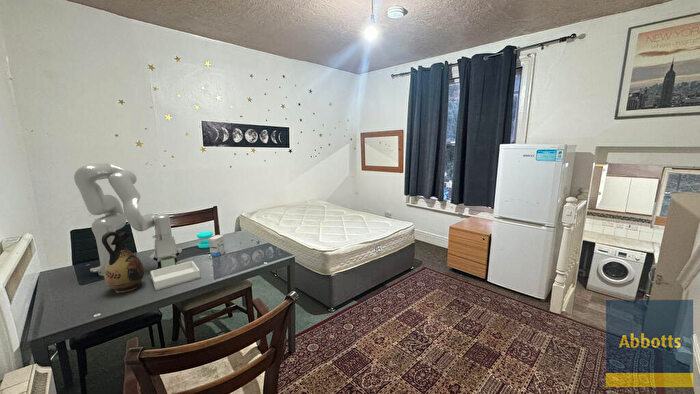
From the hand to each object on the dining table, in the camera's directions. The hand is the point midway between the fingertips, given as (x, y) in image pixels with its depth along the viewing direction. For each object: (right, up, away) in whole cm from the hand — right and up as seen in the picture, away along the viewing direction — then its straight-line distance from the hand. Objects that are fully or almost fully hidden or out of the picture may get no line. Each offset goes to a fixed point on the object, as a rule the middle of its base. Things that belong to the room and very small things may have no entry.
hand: (167, 265), depth 161 cm
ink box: (+19, +2, +21) cm, 28 cm away
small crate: (0, -1, 0) cm, 1 cm away
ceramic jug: (-6, -6, -23) cm, 25 cm away
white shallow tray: (+13, -4, -12) cm, 18 cm away
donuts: (+5, +5, +34) cm, 35 cm away
